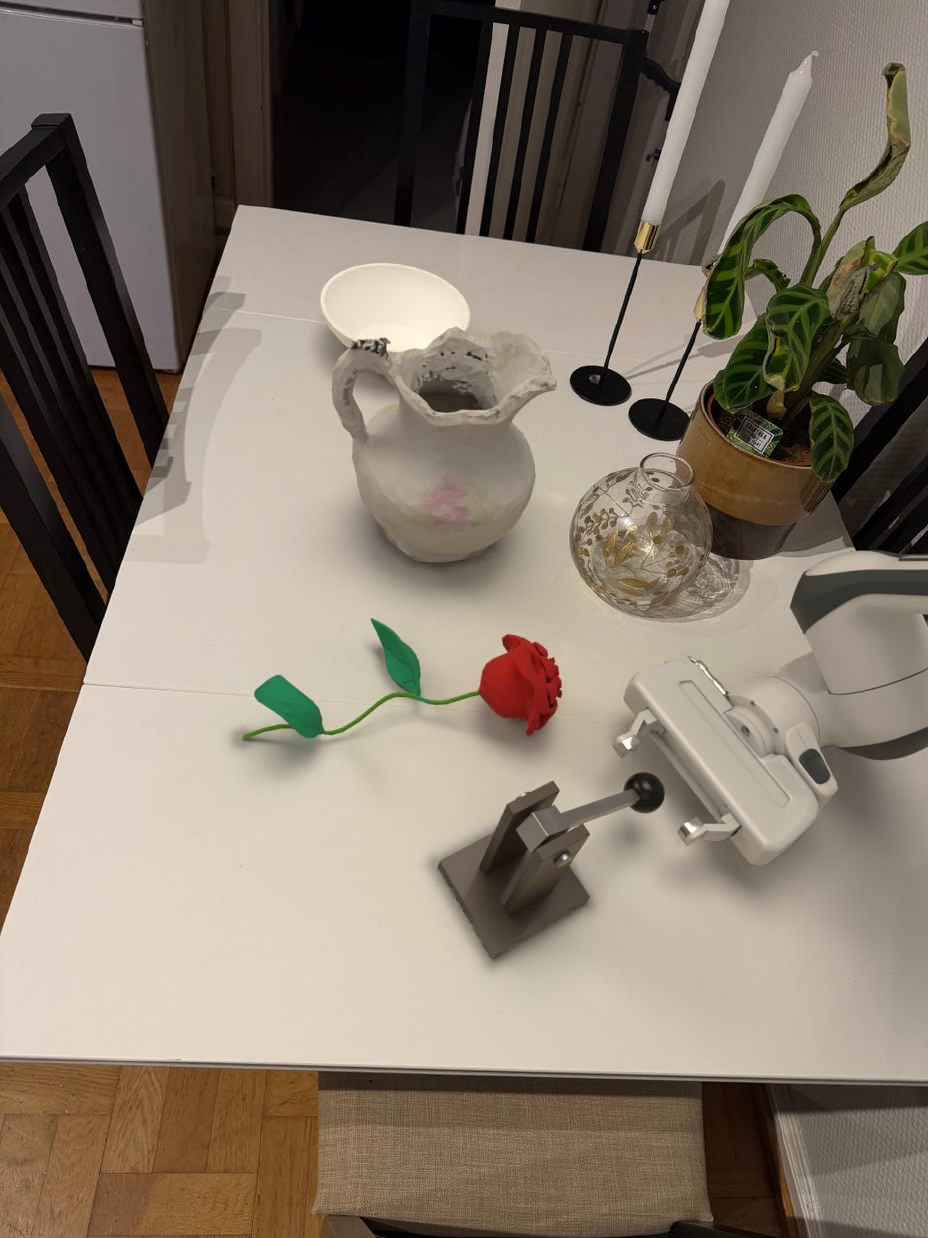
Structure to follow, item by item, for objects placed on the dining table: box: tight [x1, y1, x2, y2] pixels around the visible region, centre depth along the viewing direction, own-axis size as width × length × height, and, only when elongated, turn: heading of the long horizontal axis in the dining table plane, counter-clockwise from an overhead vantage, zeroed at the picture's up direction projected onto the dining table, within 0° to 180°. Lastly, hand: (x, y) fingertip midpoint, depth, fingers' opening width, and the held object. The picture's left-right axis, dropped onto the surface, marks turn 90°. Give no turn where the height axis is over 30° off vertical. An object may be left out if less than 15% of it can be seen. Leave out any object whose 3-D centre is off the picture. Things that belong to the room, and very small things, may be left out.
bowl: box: [319, 262, 471, 359], centre depth 116 cm, size 20×20×7 cm
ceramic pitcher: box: [331, 327, 557, 563], centre depth 90 cm, size 22×20×25 cm
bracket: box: [437, 780, 591, 960], centre depth 71 cm, size 10×9×14 cm
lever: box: [516, 771, 666, 853], centre depth 72 cm, size 17×4×4 cm, turn 122°
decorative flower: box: [242, 617, 563, 740], centre depth 82 cm, size 14×30×10 cm, turn 96°
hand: (649, 791), depth 77 cm, fingers open, 8 cm apart
